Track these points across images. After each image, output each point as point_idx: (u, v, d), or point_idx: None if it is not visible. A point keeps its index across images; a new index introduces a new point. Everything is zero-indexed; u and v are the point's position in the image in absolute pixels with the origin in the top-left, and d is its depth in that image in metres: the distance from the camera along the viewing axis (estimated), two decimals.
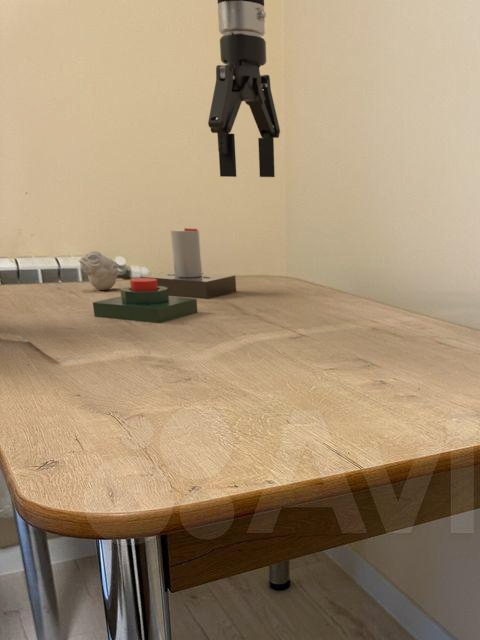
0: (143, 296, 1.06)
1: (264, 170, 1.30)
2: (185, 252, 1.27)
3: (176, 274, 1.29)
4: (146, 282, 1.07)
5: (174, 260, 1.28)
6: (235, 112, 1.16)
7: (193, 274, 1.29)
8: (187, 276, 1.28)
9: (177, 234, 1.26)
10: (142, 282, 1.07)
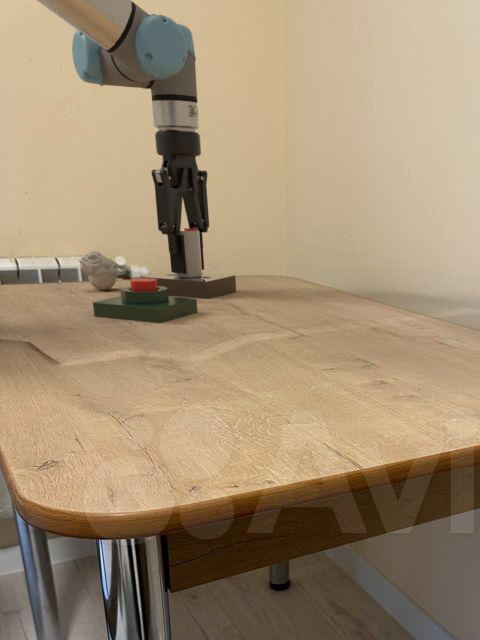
0: (143, 296, 1.06)
1: None
2: (185, 252, 1.27)
3: (176, 274, 1.29)
4: (146, 282, 1.07)
5: None
6: (179, 211, 1.23)
7: (193, 274, 1.29)
8: (187, 276, 1.28)
9: None
10: (142, 282, 1.07)
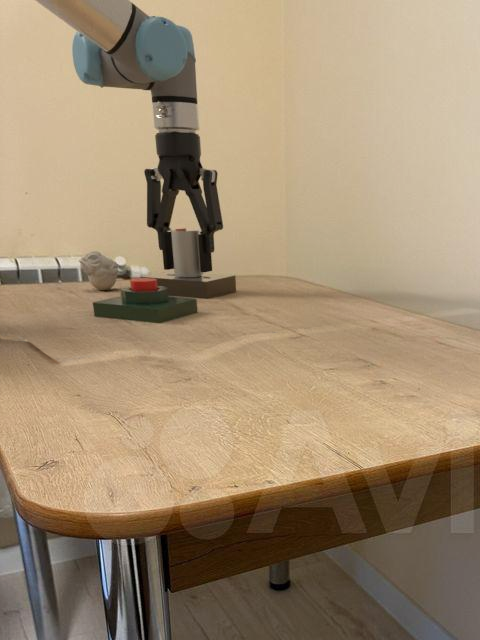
0: (143, 296, 1.06)
1: None
2: None
3: None
4: (146, 282, 1.07)
5: None
6: (162, 210, 1.26)
7: (175, 273, 1.29)
8: None
9: None
10: (142, 282, 1.07)
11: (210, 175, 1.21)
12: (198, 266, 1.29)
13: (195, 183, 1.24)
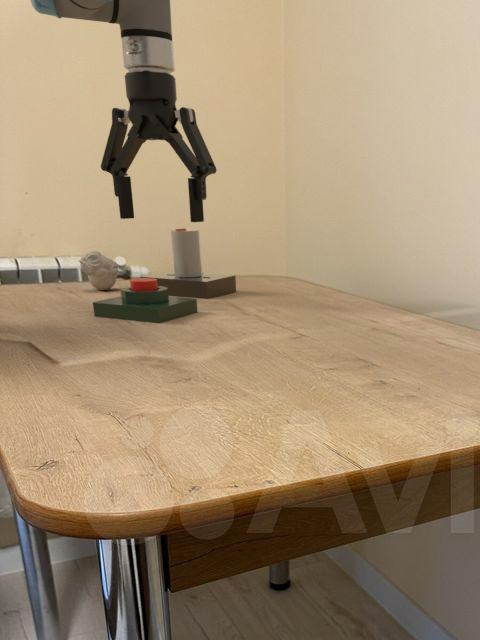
0: (143, 296, 1.06)
1: None
2: None
3: None
4: (146, 282, 1.07)
5: None
6: (123, 154, 1.13)
7: (175, 273, 1.29)
8: None
9: None
10: (142, 282, 1.07)
11: (187, 112, 1.07)
12: (198, 266, 1.29)
13: (170, 131, 1.11)
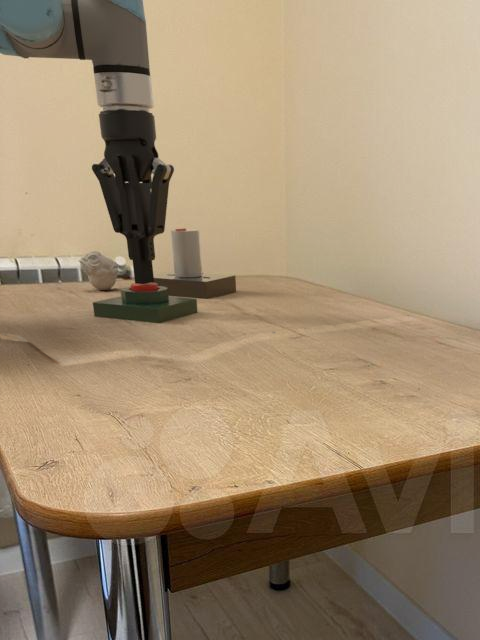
0: (143, 296, 1.06)
1: None
2: None
3: None
4: (146, 286, 1.07)
5: None
6: (124, 209, 1.04)
7: (175, 273, 1.29)
8: None
9: None
10: (142, 286, 1.07)
11: (163, 172, 1.00)
12: (198, 266, 1.29)
13: (149, 173, 1.02)
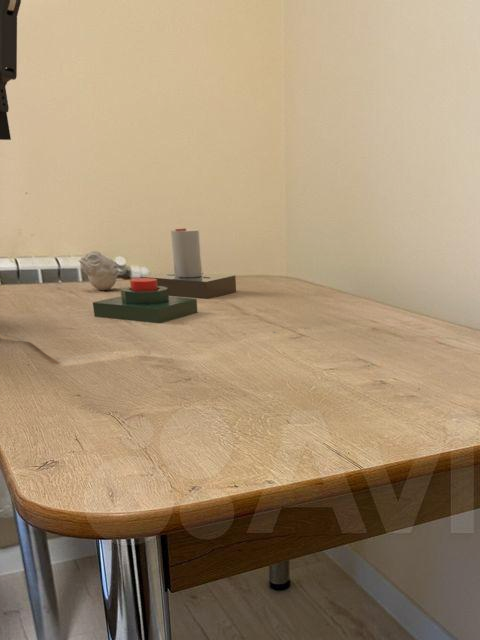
0: (143, 296, 1.06)
1: None
2: None
3: None
4: (146, 282, 1.07)
5: None
6: None
7: (175, 273, 1.29)
8: None
9: None
10: (142, 282, 1.07)
11: (6, 0, 0.88)
12: (198, 266, 1.29)
13: None
